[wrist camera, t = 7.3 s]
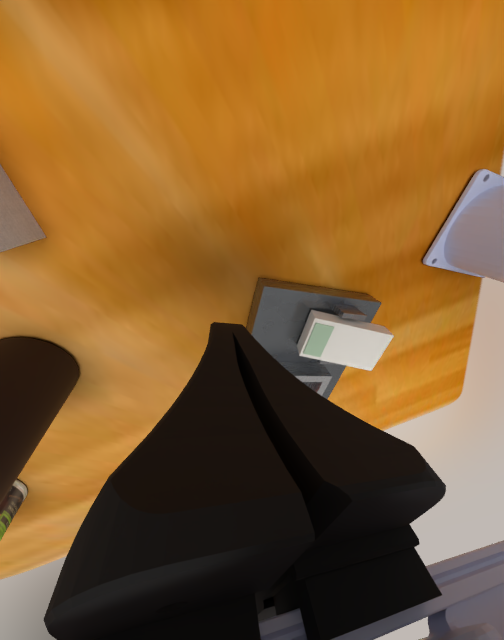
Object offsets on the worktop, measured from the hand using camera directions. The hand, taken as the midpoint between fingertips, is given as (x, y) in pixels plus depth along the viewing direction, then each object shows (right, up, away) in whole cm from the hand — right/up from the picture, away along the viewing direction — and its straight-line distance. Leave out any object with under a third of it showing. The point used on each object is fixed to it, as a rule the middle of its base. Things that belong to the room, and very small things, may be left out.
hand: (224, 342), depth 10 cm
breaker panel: (+6, -3, +15) cm, 16 cm away
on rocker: (+9, -1, +10) cm, 14 cm away
